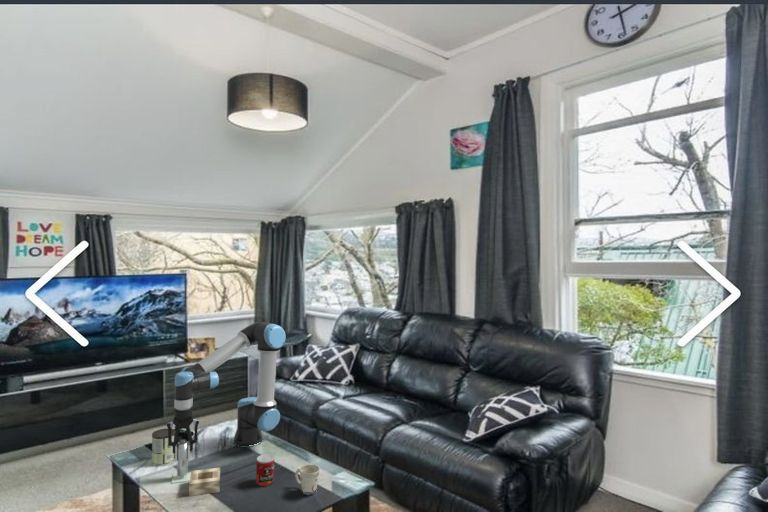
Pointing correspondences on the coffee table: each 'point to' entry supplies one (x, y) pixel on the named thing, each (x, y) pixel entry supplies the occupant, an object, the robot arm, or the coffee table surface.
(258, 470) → the canned food
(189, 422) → the robot arm
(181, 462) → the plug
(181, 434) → the controller
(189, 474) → the pad
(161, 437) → the coffee can
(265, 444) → the coffee table surface
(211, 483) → the housing
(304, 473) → the mug
